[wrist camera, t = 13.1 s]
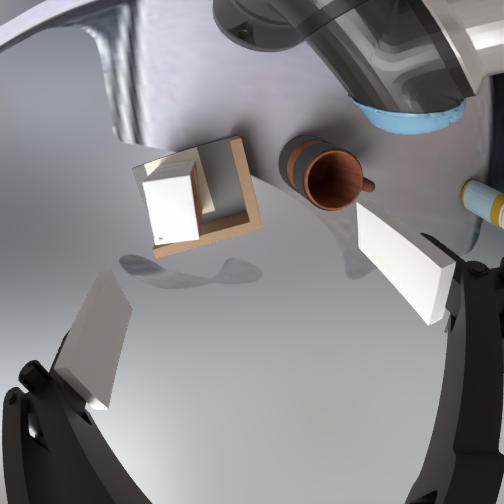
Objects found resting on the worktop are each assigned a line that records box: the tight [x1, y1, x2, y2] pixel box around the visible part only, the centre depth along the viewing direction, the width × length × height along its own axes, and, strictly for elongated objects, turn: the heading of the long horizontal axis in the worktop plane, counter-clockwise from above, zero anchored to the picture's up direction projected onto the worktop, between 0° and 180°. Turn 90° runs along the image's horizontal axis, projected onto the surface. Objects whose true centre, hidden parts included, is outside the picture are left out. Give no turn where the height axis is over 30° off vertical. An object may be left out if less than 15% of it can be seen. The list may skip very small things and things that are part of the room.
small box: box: [142, 160, 202, 245], centre depth 35 cm, size 8×6×10 cm
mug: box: [279, 136, 375, 211], centre depth 36 cm, size 9×12×12 cm
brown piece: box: [132, 135, 263, 258], centre depth 38 cm, size 13×16×5 cm
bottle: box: [461, 179, 504, 229], centre depth 41 cm, size 7×7×15 cm
